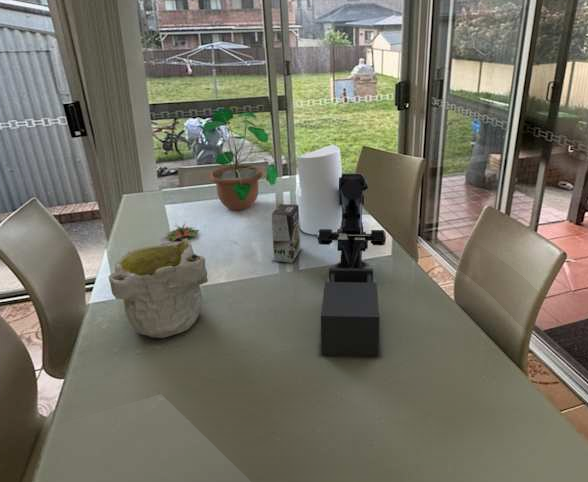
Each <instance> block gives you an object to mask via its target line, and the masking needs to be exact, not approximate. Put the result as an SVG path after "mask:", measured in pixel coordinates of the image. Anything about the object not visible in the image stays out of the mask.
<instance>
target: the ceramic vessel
mask: <svg viewBox="0 0 588 482" xmlns="http://www.w3.org/2000/svg"><path fill="white" fill-rule="evenodd" d="M108 281H109V283H110V289H111V293H112V296H113V297H114V298H116V299H117V300H123V305H124V313H125V316H126V317H127V320H128V323H129V325H130V326H131V328H132V329H133V330H134V331H136V332H138V334H141V335H144V336H147V337H149V338H159V339H165V338H168V337H171V336H174V335H177V334H178V335H179V334H181V333H183V332H185V331H187V330H189V329H190V328H191V327H192V326H193V325H194V324H195V322H196V321H197V319H198V317H199V315H200V313H201V311H202V309H203V307H202V304H203V295H202V289H201V285H203V284H205V283H208V281H209V278H208V271H207V268H206V258H205V257H204V256H203V255H198V254H196V253H195V252H194V249H193V246H192V244H191V242H190V241H189V239H185V240H181V241H180V240H179V242H177V241H168V242H162V243H161V244H159V245H151V246H150V245H148V246H144V247H143V246H142V247H139V248H135V249H133V250H130V251H128V252H127V253H125V254H123V255H122V256H121V257H120V259H119V260H118V261H117V262H116V263H115V267H114V272H113V273H110V274H109V276H108Z"/></svg>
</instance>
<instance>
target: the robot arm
mask: <svg viewBox="0 0 588 482" xmlns="http://www.w3.org/2000/svg"><path fill="white" fill-rule="evenodd" d="M366 190H368V180H366V177H364V174H363V173H359V172H358V173H356V172H355V173H348V172H347V173H344V172H342V177H339V191H340V205H342V222H341V226H340V229H337V231H336V232H333V233H332V229H320V230H319V231H318V233H317V235H316V237H317V238H316V239H317V243H318V245H326V246H327V245H328V246H329V245H331V244H332V243H333V241H337V252H340V262H339V263H337V268H363V267H365V266H366V265H367V263H366V262H364V261H363V252H366V250H367V249H368V248H369V247H368V246H369V242H370V244H372V245H373V246H386V241H387V233H386V231H385V230H384V229H371V231H370V233H367V232H366V231H364V225H363V206H364V205H365V192H366Z"/></svg>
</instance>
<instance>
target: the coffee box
mask: <svg viewBox="0 0 588 482" xmlns="http://www.w3.org/2000/svg"><path fill="white" fill-rule="evenodd" d="M270 216H271V229H272V230H271V231H272V232H271V233H272V247H273V249H272V250H273V261H275V262H282V263H283V262H284V263H292V264H293V262H294V261H295V259H296V257H297V256H298V254H299V252H300V251H301V239H300V238H301V237H300V234H301V233H300V224H299V209H298V205H297V204H288V203H286V204H285V203H280V204H278V206H277V207H276V208H275V210H274V211H272V213H271V215H270Z"/></svg>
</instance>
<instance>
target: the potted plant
mask: <svg viewBox="0 0 588 482" xmlns="http://www.w3.org/2000/svg"><path fill="white" fill-rule="evenodd" d="M237 117H238V118H241V117H244V120H241V121H239V120H238V122H240V123H244V135H243V136H242V135H241V136H240V135H239V136H237V135H235V136H234V135H233V132H232V129H231V127H230V125H229V121H230V120H232V119H234V113H233V109H231V108H222V109H219V110H217V111H215V112H214V114H213V115H212V117H211V121H207V122H205V123H204V124H203V129H204V131H205V132H206V136H205V140H204V143H203V144H204V145H205V144H207V143H208V139H209V134H210V133H209V132H210V131H212V130H214V129H215V128H216V127H218V128H219V130H220V131H221V133H222V135H223V136H224V138H225V140H226V142H227V144H228V147H229V149H230V150H229V151H228V150H227V151H225V152H223V151H222V149H221V147H220V146H219V144H218V142H217V140H216V139H215V138H213V140H214V142H215V144H216V146H217V148H218V149H219V151H220V152H221V153H219V154H218V155H217V157H216V158H215V163H217V164H218V165H220V166H225V167H221V168H217V169H216V170H213V171H212V172H211V173H210V177H209V179H210V180H211V181H212V182H214V184H215V186H216V192H217V197H218V199H219V201H220V202H221V204H222V205H224V207H226V208H227V209H229V210H231V211H244V210H247V209H249V208H251V207H252V205H253V204H254V203H255V202H256V200H257V199H258V196H259V180H260V179H261V178H262V177H263V171H262V170H261V169H263V170H266V178H265V181H267V182H268V183H269V184H270V186H273V185H275V184H276V182H277V178H278V175H279V172H278V170H277V169H276V166H275V165H274V163H270V165H269V166H268V167H267V168H264V167H262V166H253V165H244V164H243V165H241V163H243V162H244V161H246V159H247V158H248V157H249V156H250V155H251V153H252V151H253V148H254V144H255V141H256V139H257V140H258V141H260V142H261V143H265V144H266V143H267V142H268V141H269V134H268V133H267V132H266V131H265V129H264V128H261V127H258V126H256V124H255V123H253V122H252V121H250V120H247V117H250V118H253V119H255V120H256V119H257V116H256V114H255V113H253V112H249V111H248V112H244V113H243V112H242V113H240V114H238V115H237ZM226 125H227V126H228V128H229V131H230V134H231V136H230V138H231V139H232V141H233V142H232V143H233V145H234V150H235V151H233V149H232V147H231V144H230V142H229V140H228V139H227V137H226V135H225V132H224V131H223V129H222V128H221V126H226ZM248 125H252V126H248ZM247 130H248V131H249V132H250V133H251V134H253V136H255V137H254V140H253V142H252V147H251V149H250V150H249V153H248V154H247V156H246V157H244V158H243V159H242V160H241V161H240V158H241V155H242V152H243V149H244V144H245V141H246V135H247ZM210 136H211V137H213V135H212V134H210ZM235 139H237V147H236V143H235ZM242 139H243V140H242ZM239 140H242V142H241V145H240V141H239ZM239 145H240V147H239ZM234 152H235V153H234ZM238 154H239V155H238ZM234 159H235V160H234ZM226 165H229V166H226Z"/></svg>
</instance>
